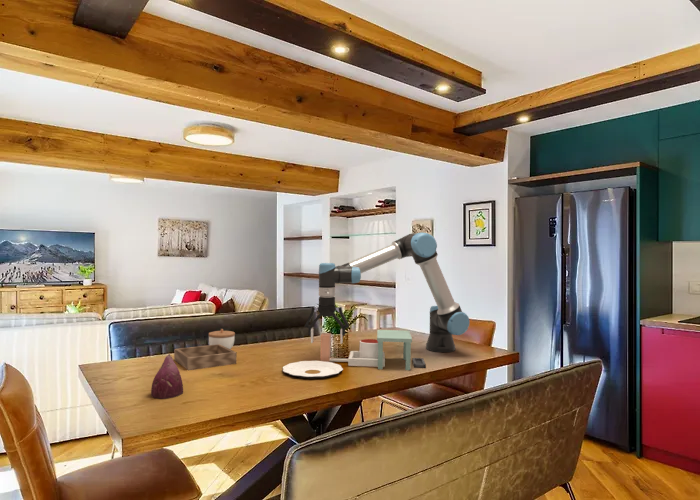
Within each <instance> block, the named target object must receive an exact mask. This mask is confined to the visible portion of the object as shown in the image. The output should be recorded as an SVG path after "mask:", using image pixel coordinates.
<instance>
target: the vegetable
mask: <svg viewBox="0 0 700 500" xmlns="http://www.w3.org/2000/svg"><path fill="white" fill-rule="evenodd" d="M183 393H184V384H183V380H182V375H181V373H180V370H179V368H178V366H177V364H176V363H175V360H174V357H173V356H172V355H171V353H168V354H167V355H166V356H165V358H164V360H163V362H162V364H161V366H160V368H159V369H158V370H157V372H156V374H155V376H154V377H153V380H152V384H151V390H150V396H151V397H152V398H154V399H159V400H166V399H173V398H176V397H179V396H182V395H183Z"/></svg>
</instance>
